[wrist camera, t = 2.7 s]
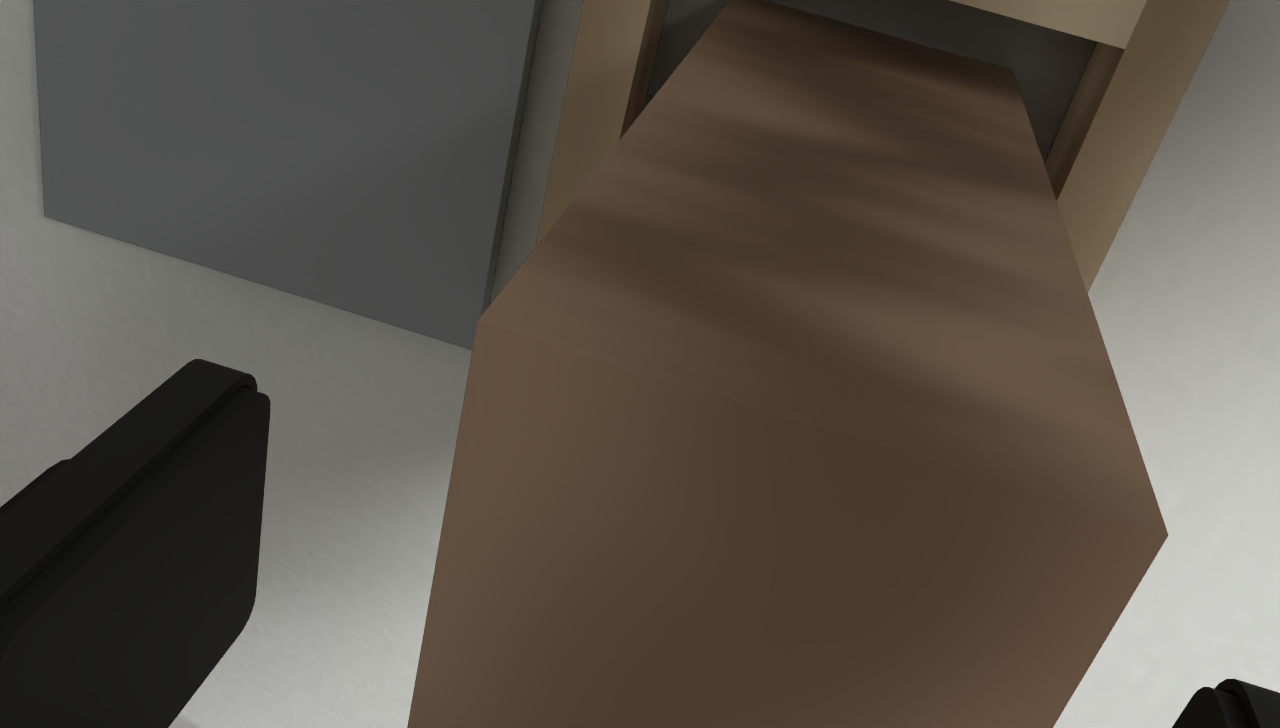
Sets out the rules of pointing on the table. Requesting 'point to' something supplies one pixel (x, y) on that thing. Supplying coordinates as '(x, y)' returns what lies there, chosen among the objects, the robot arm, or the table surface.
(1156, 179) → the table surface
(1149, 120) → the pocket
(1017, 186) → the walnut block
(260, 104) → the mat
